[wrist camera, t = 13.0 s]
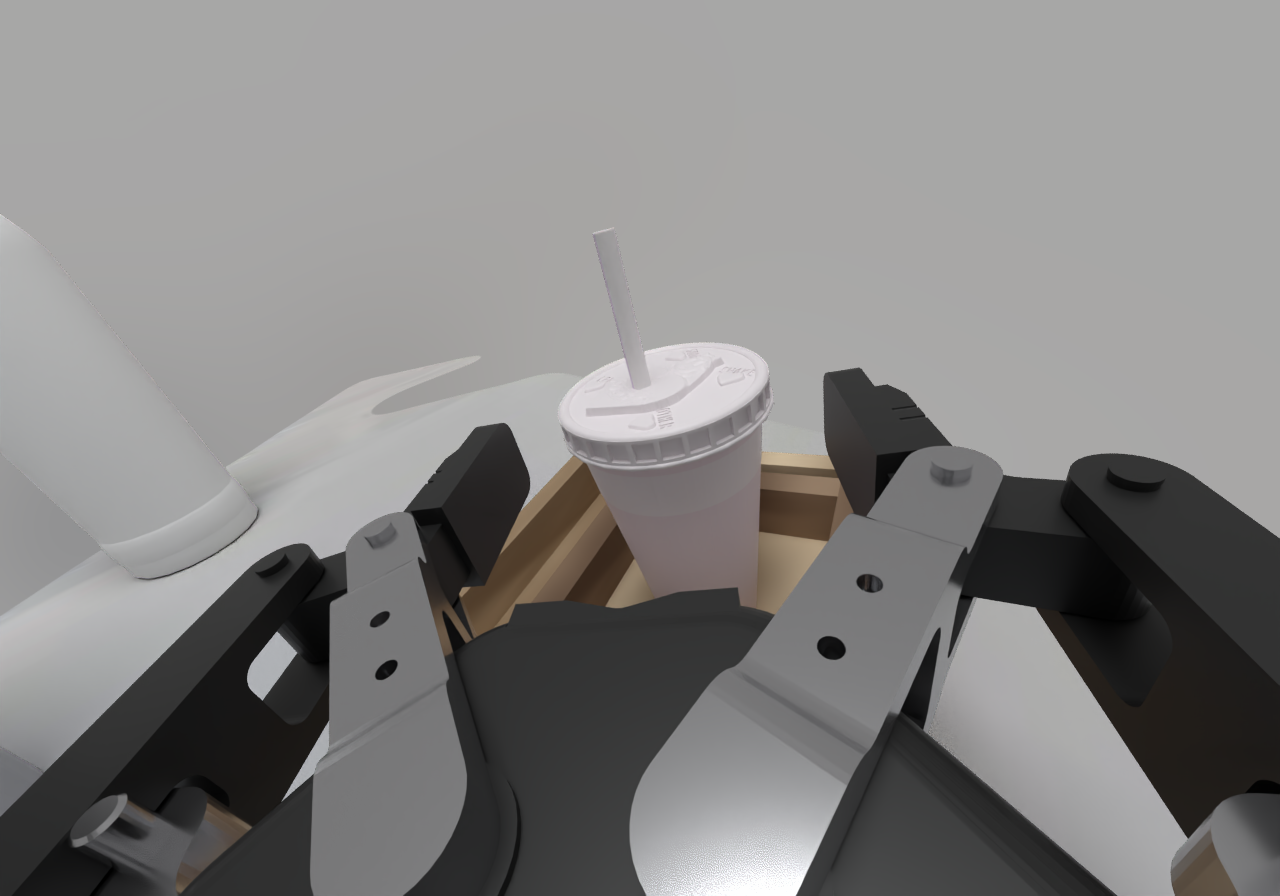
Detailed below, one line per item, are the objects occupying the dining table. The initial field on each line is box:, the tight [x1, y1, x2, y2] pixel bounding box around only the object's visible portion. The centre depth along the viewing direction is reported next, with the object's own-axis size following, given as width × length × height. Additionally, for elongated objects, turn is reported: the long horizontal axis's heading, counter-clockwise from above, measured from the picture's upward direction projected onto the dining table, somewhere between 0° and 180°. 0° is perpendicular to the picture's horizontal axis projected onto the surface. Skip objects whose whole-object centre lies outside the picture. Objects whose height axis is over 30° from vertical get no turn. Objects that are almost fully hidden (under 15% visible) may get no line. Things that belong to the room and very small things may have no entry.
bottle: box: [0, 214, 258, 579], centre depth 27 cm, size 8×8×30 cm
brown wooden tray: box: [459, 452, 854, 636], centre depth 19 cm, size 16×14×4 cm
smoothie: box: [558, 228, 774, 608], centre depth 15 cm, size 6×6×14 cm
